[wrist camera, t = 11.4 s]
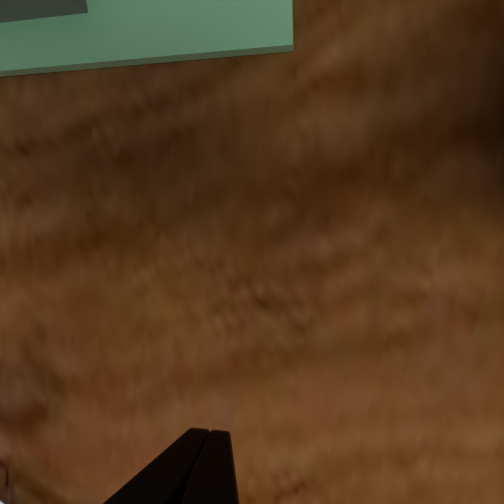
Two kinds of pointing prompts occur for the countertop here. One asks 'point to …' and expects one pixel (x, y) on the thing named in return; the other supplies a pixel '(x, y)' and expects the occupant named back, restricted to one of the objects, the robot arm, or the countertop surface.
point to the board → (136, 32)
